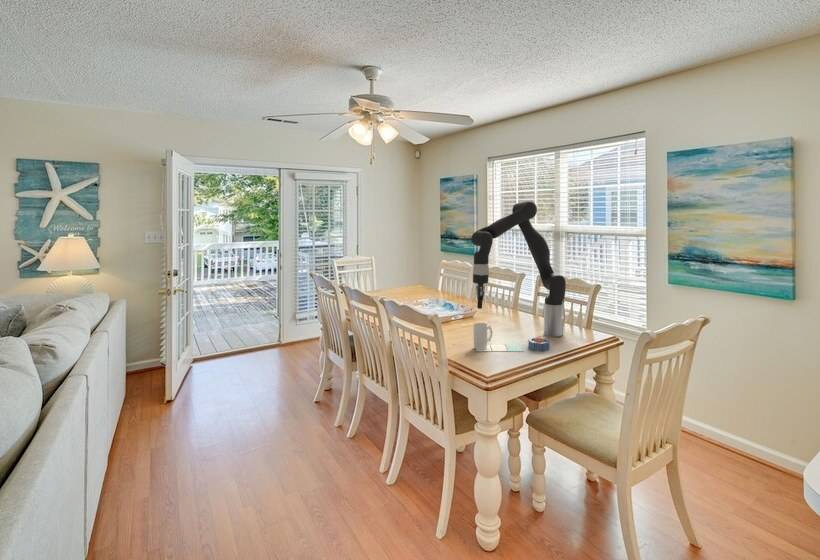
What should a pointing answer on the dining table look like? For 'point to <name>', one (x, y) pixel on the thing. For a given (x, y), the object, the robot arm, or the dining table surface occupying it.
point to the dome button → (539, 340)
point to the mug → (481, 335)
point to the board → (502, 348)
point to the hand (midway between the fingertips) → (479, 308)
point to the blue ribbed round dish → (538, 345)
